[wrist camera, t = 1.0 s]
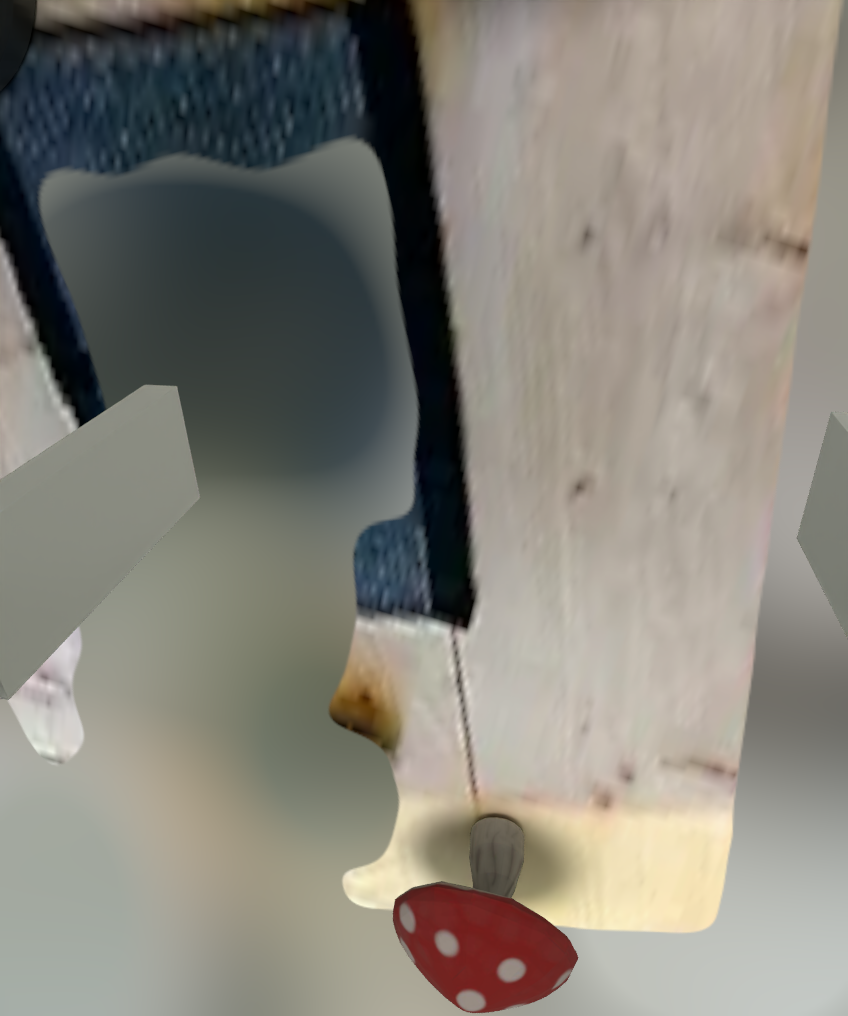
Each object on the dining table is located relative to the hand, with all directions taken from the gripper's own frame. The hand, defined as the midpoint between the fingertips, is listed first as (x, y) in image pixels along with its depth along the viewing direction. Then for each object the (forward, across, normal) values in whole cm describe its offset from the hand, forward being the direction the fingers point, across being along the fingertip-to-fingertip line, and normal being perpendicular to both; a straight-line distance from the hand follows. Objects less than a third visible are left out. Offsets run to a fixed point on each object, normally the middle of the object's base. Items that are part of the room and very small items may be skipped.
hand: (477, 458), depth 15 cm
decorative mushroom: (+31, -2, -54) cm, 63 cm away
